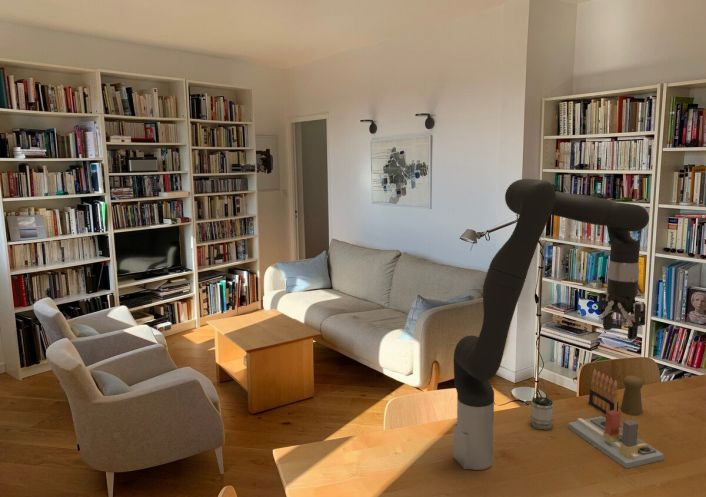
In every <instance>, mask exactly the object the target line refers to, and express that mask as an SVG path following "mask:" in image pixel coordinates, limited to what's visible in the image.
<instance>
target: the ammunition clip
mask: <svg viewBox="0 0 706 497" xmlns="http://www.w3.org/2000/svg"><path fill="white" fill-rule="evenodd" d="M591 378H592V380H591V386H590V389H589V397H588V405H589V406H591V407H593V408H595V409H596V410H598V411H599V412H601V413H602V414H604V415H605V416H606V411H611V410H616V411H617V412H619V401H618V397H619V396H618V380H617V379H615V380H614V381H613V377H609V375H606V376H605V374H604V372H603V373H602V374H601V372H600V370H598V371H597V370H596V368H594V369H593V372H592V377H591Z"/></svg>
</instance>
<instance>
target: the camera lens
mask: <svg viewBox="0 0 706 497" xmlns="http://www.w3.org/2000/svg"><path fill="white" fill-rule="evenodd" d="M554 406H555V405H554V402H553V401H552V400H551V399H549V398H547V397H543V396H538V397H534V398H532V399H531V401H530V423H531V425H532V427H534V428H535V429H539V430H543V429H544V430H550V429H551V428H552V426H553V423H554V409H555V407H554Z"/></svg>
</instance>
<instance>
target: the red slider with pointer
mask: <svg viewBox="0 0 706 497" xmlns="http://www.w3.org/2000/svg"><path fill="white" fill-rule="evenodd" d="M605 418H606V422H605V432H603V438H605V439H606V440H608V441H609V442H613V441H617V440H620V437H622V434H623V433H620V434H619V427H620V423H621V413H620V412H619V411H618V412H617V411H616V410H611V411H606V415H605Z"/></svg>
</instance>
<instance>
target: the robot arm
mask: <svg viewBox="0 0 706 497" xmlns="http://www.w3.org/2000/svg"><path fill="white" fill-rule="evenodd" d="M504 200H505V205H506V206H507V208H508V209H509V210H510V211H511V212H512V213H514V214H516V215H518V218H517V222H516V225H515V227H514V230H513V232H512V234H511V235H510V237H509V238H508V239H507V240H506V242H504V244H503V245H502V246H501V248H499V250H498V251H497V252H496V254H495V255H494V256H493V258H492V259H491V261H490V264H489V266H488V268H487V272H486V275H485V278H484V280H483V282H484V283H483V286H482V287H483V288H482V304H483V305H482V306H483V307H482V308H483V310H482V311H483V318H482V325H481V329H480V332H479V335H478V336H477V335H466V336H463V337H462V338H461V339H460V340H459V341H458V342H457V343H456V346H455V348H454V352H453V380H454V381H453V382H454V386H455V387H454V388H455V390H456V395H457V397H456V400H457V401H456V402H457V403H456V411H457V412H456V422H457V423H455V424H454V425H453V459H454V460H455V462H457V463H458V464H459V465H460V466H461V468H463V470H474V471H479V470H480V471H483V470H487V469H489V468H490V467H491V466H492V465H493V458H494V452H493V451H494V420H495V419H494V418H495V416H494V412H495V411H494V410H495V391H494V389H493V386H492V384H491V383H490V381H489V380H490V379H492V378H493V377H494V376H495V375H496V374H498V371H499V369H500V367H501V364H502V360H503V357H504V352H505V347H506V344H507V338H508V334H509V331H510V327H511V323H512V320H513V318H514V314H515V310H516V307H517V305H518V303H519V302H518V301H519V299H520V296H521V294H522V290H523V288H524V284H525V283H526V279H527V276H528V272H529V269H530V266H531V263H532V261H533V258H534V255H535V252H536V250H537V247H538V244H539V242H540V240H541V237H542V235H543V231H544V230H545V228H546V226H547V223H548V222H549V219H550V217H551V216H556V217H559V218H564V219H568V220H573V221H576V222H580V223H585V224H590V225H595V226H600V227H601V226H603V227H606V230H607V235H608V241H609V244H610V252H609V253H610V254H609V256H610V257H609V262H608V263H609V264H608V270H607V284H606V292H600V293H599V295H598V304H597V306H598V307H597V313H598V314H601V316H602V317H603V318H602V319H603V320H602V321H603V322H602V326H603V330H605V331H610V330H612V328H613V326H612V324H613V315H614V314H615V313H616V314H617V313H618V314H619V315H621V316H623V318H624V320H626V321H627V323H628V327H627V339H628V340H630V341H632V340H636V338H638V330H639V328H638V327H641V326H645V325H646V309H647V308H646V307H647V306H646V304H645V303H644V302H643V303H640V302H639V303H638V302H637V301H636V297H637V296H638V293H639V279H640V278H639V277H640V262H639V260H640V248H641V247H640V243H639V241H637V239H634V238H632V236H631V235H630V232H639V231H642V230H643V229H645V228H646V227H647V225H648V224H649V222H650V216H649V212H648V211H647V209H646V208H645V207H643V206H641V205H639V204H634V203H633V204H632V203H626V202H619V201H618V202H617V201H614V200H609V199H606V198H601V197H598V196H597V197H596V196H592V195H587V194H578V193H577V194H576V193H569V192H561V191H556V190H555V187H554V185H553V184H552V183H551V182H550V181H548V180H544V179H533V178H532V179H531V178H522V179H518V180H515V181H513V182H512V183H511V184H510V185H509V186H508V187H507V189H506V191H505V195H504Z"/></svg>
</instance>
